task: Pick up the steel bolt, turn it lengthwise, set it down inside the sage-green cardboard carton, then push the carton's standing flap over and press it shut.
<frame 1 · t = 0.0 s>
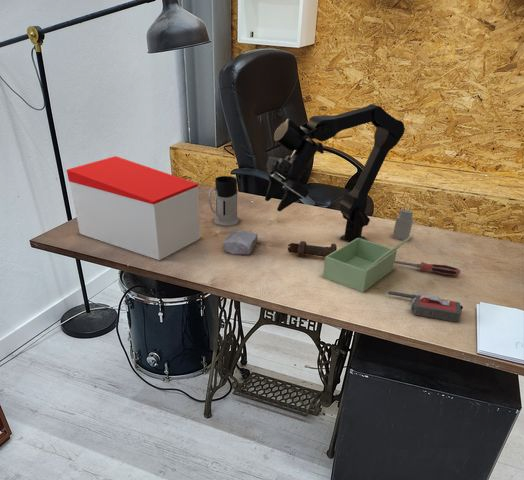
hand: (272, 205, 145), 15 cm above the table, tool tilted 35°, fingers open, 9 cm apart
power adapter: (400, 238, 167), on the table
bolt: (311, 257, 151), on the table
flap: (391, 251, 133), point 10 cm above the table, hinge at 125.0°
red-lidded white box: (139, 236, 159), on the table
stone block: (239, 247, 155), on the table
screwdriver: (416, 270, 147), on the table
carton: (358, 273, 143), on the table
walkie-talkie: (422, 309, 128), on the table
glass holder: (222, 223, 171), on the table
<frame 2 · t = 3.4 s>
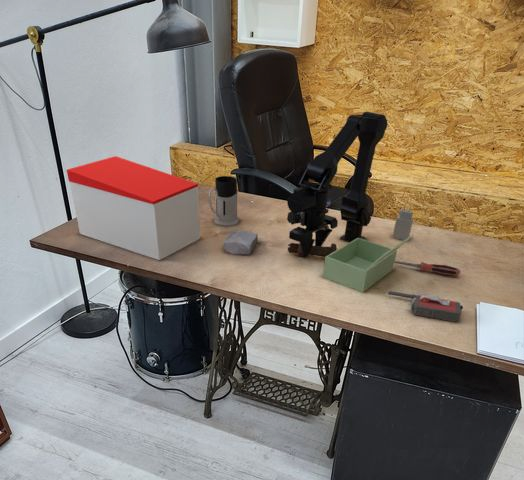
hand: (311, 253, 151), 1 cm above the table, tool pointing down, fingers closed on bolt, 6 cm apart
bolt: (311, 257, 151), on the table, touching gripper
everything else where it was.
when the fingers open (2 cm above the table, at t = 10.5 s): bolt stays where it is, resting on carton.
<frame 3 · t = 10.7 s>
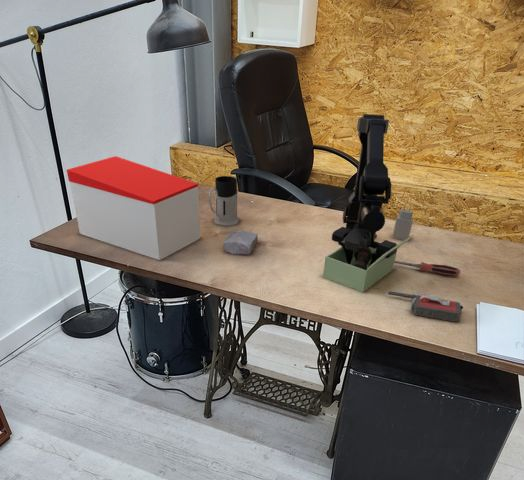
hand: (359, 268, 142), 2 cm above the table, tool pointing down, fingers open, 7 cm apart
bolt: (358, 272, 143), resting on carton
flap: (391, 251, 133), point 10 cm above the table, hinge at 125.2°, touching gripper
everything else where it was.
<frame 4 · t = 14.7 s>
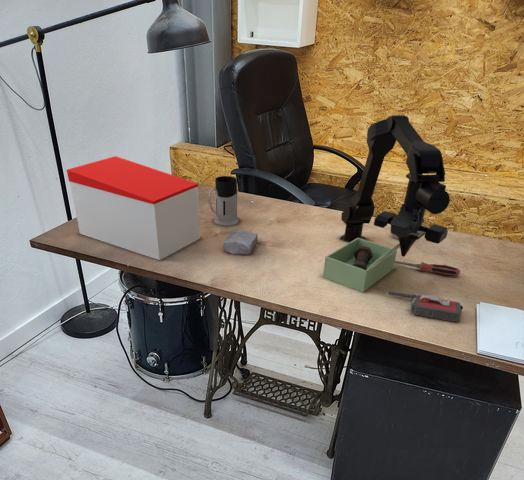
hand: (403, 256, 132), 10 cm above the table, tool pointing down, fingers closed
nothing on the table moved.
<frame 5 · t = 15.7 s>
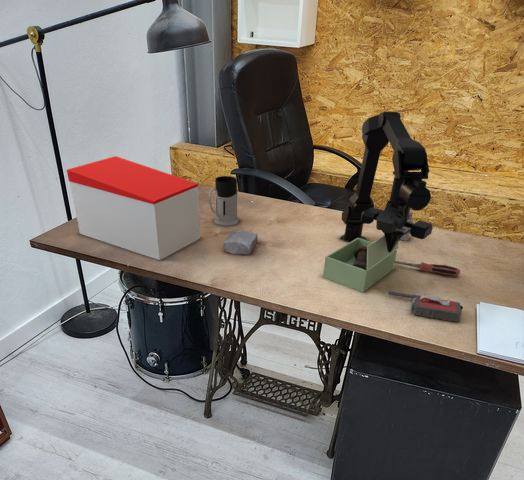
hand: (389, 251, 134), 10 cm above the table, tool pointing down, fingers closed
flap: (383, 247, 134), point 10 cm above the table, hinge at 80.3°, touching gripper
everything else where it was.
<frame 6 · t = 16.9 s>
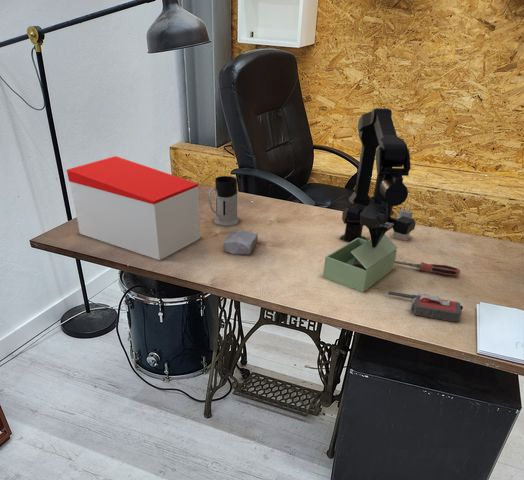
hand: (374, 247, 136), 10 cm above the table, tool pointing down, fingers closed
flap: (375, 249, 136), point 9 cm above the table, hinge at 30.9°
everything else where it was.
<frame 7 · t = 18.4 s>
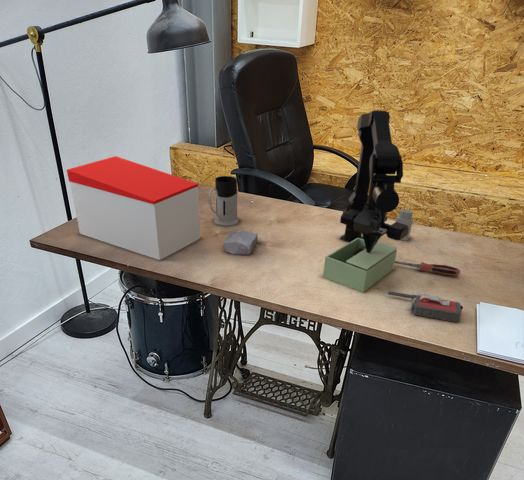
hand: (368, 252, 138), 7 cm above the table, tool pointing down, fingers closed, pressing on flap
flap: (372, 254, 137), point 7 cm above the table, hinge at 1.6°, touching gripper
everything else where it was.
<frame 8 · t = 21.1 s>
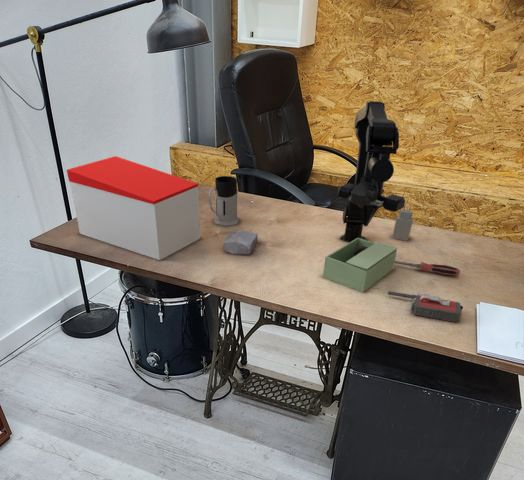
hand: (365, 225, 140), 13 cm above the table, tool pointing down, fingers closed
flap: (372, 254, 137), point 7 cm above the table, hinge at -0.4°
screwdriver: (416, 270, 147), on the table, touching carton
everything else where it was.
at the end: bolt inside the target area in the carton (0.1 cm from its centre), point 0.3 cm above the carton's base; flap at +0° (first picture: +125°) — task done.
